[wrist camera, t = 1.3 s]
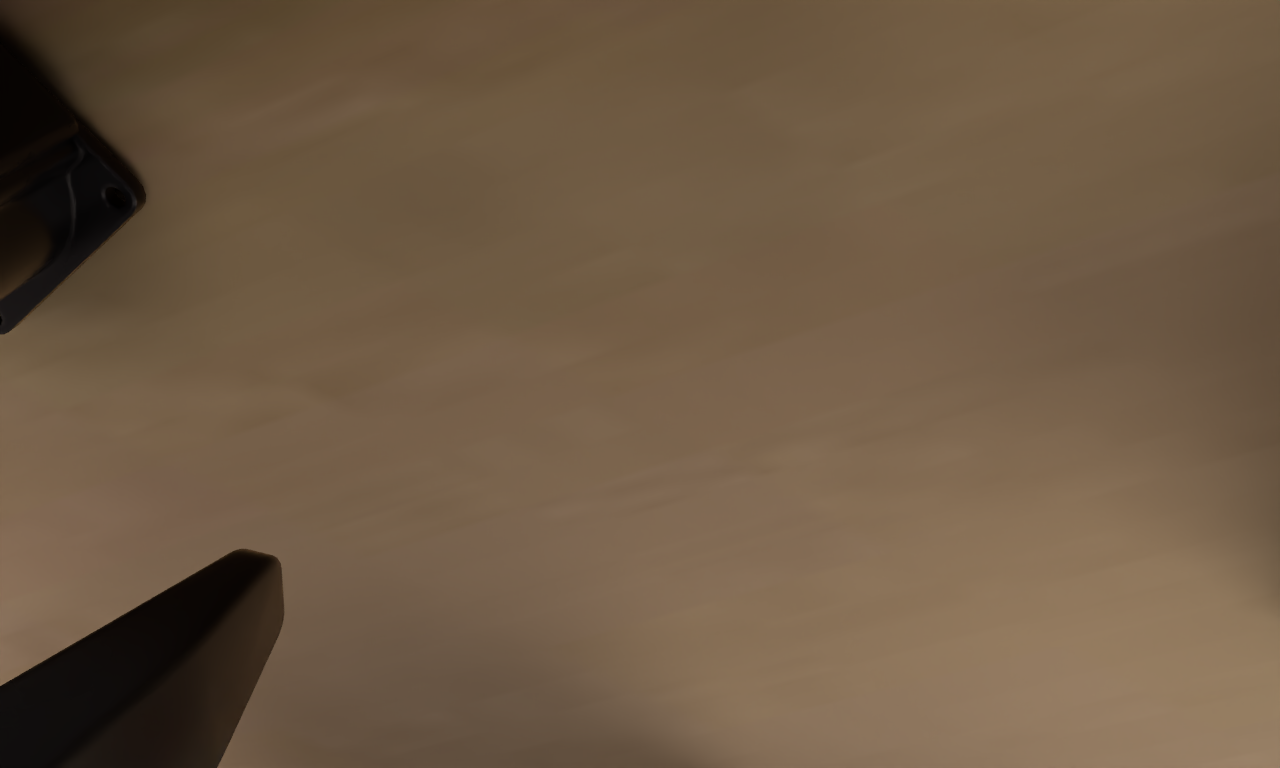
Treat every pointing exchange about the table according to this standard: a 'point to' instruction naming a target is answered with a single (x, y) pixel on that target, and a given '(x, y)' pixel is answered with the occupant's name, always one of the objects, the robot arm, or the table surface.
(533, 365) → the table surface
